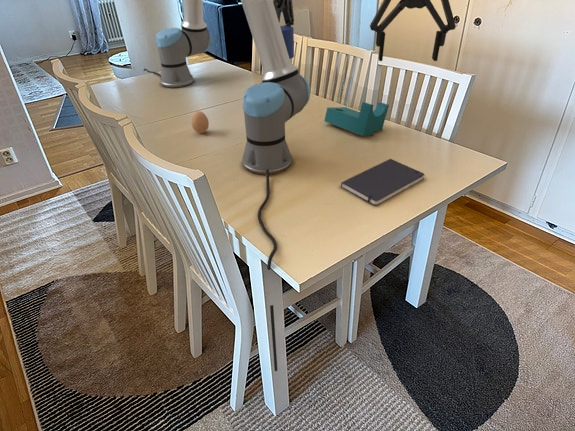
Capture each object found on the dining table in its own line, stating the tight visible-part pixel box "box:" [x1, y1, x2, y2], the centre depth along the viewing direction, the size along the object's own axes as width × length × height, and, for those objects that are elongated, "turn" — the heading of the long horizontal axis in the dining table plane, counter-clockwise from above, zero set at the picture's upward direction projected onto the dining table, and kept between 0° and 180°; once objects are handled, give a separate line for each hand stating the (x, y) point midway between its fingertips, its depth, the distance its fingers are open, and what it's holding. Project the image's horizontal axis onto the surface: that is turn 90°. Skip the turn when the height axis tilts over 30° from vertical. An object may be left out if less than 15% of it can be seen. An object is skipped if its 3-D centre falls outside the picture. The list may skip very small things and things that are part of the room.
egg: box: [190, 110, 210, 134], centre depth 143 cm, size 6×6×8 cm
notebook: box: [340, 158, 425, 206], centre depth 114 cm, size 13×2×21 cm
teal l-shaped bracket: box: [324, 101, 390, 137], centre depth 144 cm, size 18×11×10 cm, turn 43°
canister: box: [280, 25, 295, 60], centre depth 158 cm, size 9×9×11 cm
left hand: (282, 45), depth 159 cm, fingers closed on canister, 9 cm apart
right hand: (407, 59), depth 104 cm, fingers open, 13 cm apart
